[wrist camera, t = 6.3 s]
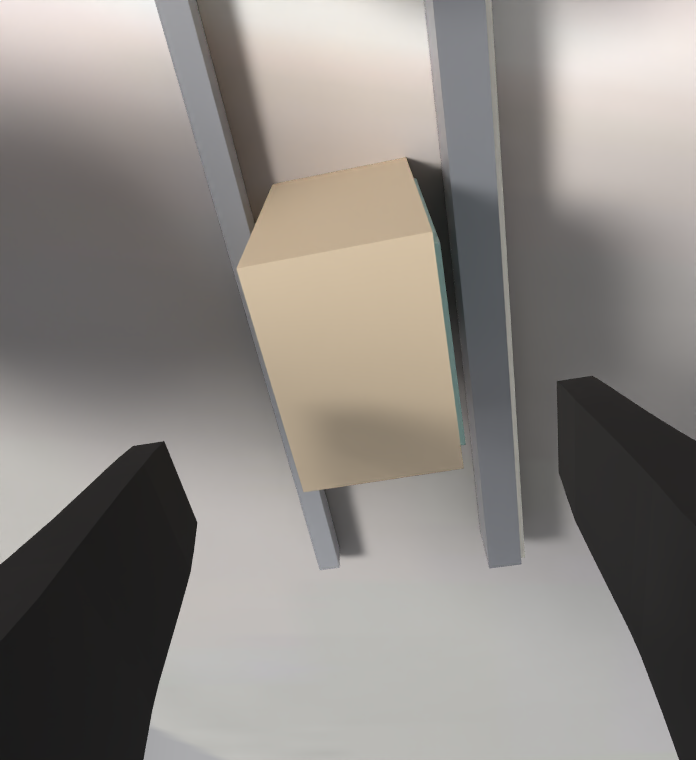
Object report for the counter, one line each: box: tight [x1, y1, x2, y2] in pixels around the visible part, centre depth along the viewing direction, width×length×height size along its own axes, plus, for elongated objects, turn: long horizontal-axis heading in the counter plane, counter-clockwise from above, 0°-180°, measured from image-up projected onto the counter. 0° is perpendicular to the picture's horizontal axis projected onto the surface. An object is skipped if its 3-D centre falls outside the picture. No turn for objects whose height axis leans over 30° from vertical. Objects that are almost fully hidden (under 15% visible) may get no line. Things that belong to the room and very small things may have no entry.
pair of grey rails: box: [155, 0, 525, 570], centre depth 19 cm, size 8×26×2 cm, turn 10°
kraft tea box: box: [236, 157, 466, 492], centre depth 17 cm, size 4×6×7 cm
